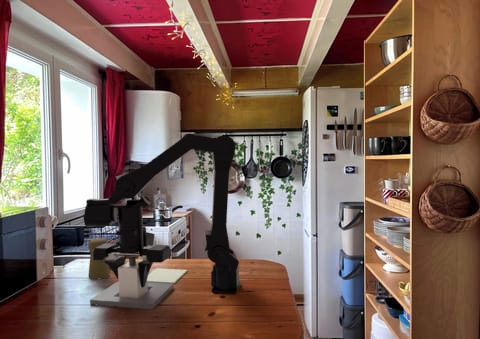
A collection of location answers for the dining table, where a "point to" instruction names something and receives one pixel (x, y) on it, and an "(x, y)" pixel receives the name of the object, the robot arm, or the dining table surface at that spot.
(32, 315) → the dining table surface
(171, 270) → the mat
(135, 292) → the plug
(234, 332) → the dining table surface
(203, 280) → the dining table surface
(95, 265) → the olive green tapered block
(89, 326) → the dining table surface
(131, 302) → the gray rectangular frame
